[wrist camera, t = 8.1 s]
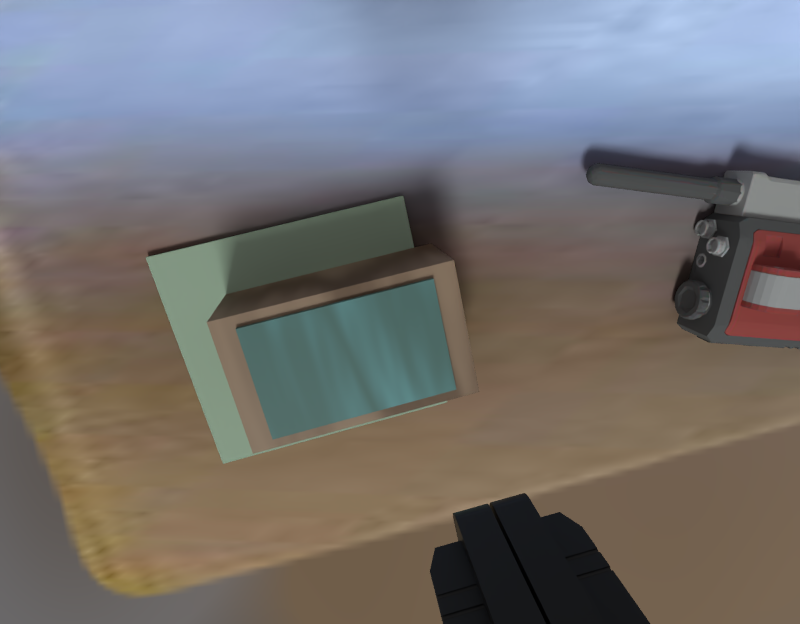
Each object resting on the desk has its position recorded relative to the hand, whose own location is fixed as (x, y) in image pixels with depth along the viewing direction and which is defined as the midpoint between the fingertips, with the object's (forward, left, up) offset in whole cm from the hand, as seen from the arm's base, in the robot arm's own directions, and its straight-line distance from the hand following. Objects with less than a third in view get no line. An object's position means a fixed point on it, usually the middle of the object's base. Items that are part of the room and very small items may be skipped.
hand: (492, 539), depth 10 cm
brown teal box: (-3, 0, -14) cm, 14 cm away
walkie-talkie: (-19, +2, -17) cm, 26 cm away
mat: (+4, 0, -17) cm, 17 cm away
